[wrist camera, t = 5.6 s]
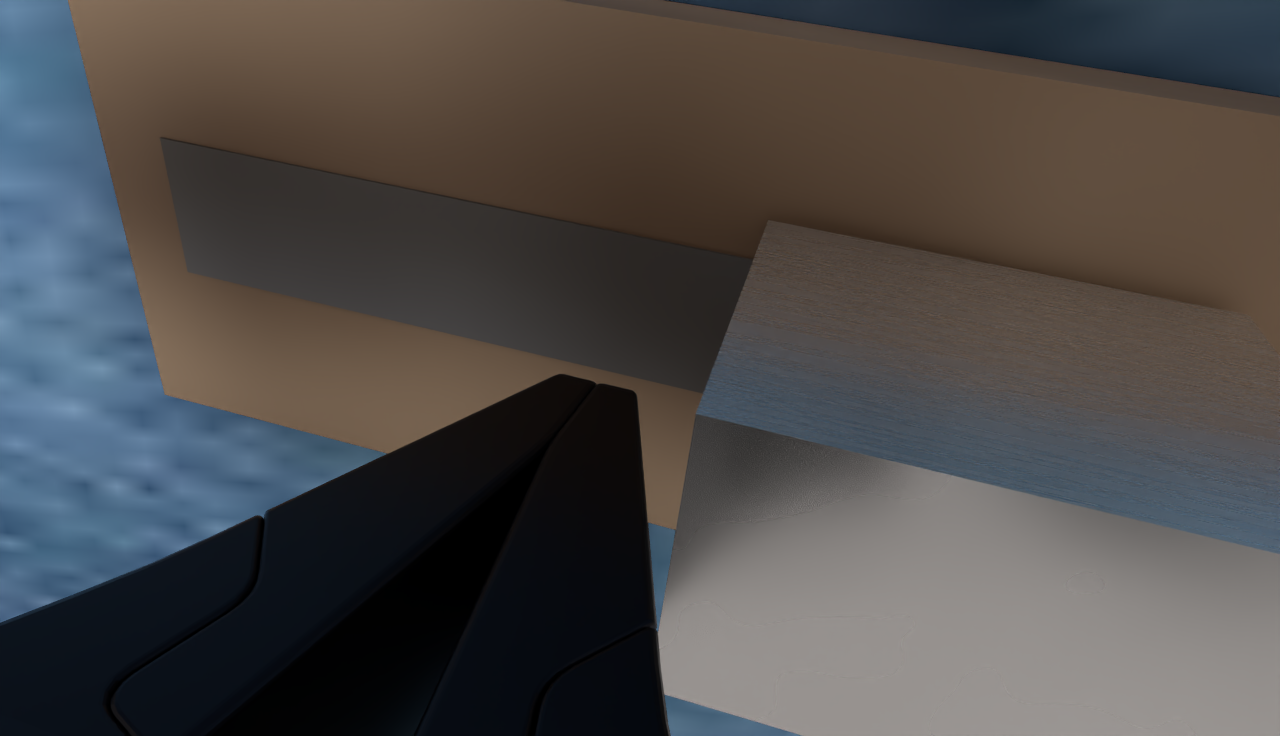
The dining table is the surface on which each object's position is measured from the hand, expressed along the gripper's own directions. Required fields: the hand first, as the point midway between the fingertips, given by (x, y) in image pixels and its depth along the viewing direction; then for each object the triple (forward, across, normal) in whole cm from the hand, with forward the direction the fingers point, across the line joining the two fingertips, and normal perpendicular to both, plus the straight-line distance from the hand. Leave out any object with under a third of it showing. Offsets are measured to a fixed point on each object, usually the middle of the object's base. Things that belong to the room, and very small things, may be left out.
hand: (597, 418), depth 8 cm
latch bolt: (+2, -4, 0) cm, 4 cm away
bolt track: (+4, 0, 0) cm, 4 cm away
